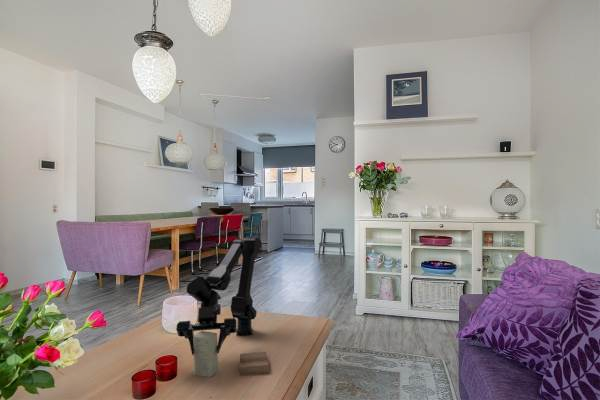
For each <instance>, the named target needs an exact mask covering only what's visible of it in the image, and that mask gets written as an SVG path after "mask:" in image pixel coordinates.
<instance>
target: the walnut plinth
mask: <svg viewBox="0 0 600 400" xmlns="http://www.w3.org/2000/svg"><path fill="white" fill-rule="evenodd" d="M269 367H270V365H269V358H268V353H267V351H260V352H250V353H239V376H247V375H248V376H250V375H259V374H260V375H261V374H268V373H269Z"/></svg>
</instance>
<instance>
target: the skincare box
mask: <svg viewBox="0 0 600 400" xmlns="http://www.w3.org/2000/svg"><path fill="white" fill-rule="evenodd" d="M217 346H218V332H213V331H206V330H200V332H199V331H198V333H196V334H194V355H193V363H194V365H193V367H194V369H193V370H194V375H197V376H200V377H201V376H202V377H206V378H212V377H213V376H214V375H216V373H217V372H218V371H219V359H218V358H219V353H217Z"/></svg>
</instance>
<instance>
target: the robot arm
mask: <svg viewBox="0 0 600 400" xmlns="http://www.w3.org/2000/svg"><path fill="white" fill-rule="evenodd" d="M261 247H262V241H261V240H260V238H259V237H255V236H254V237H251V236H250V237H249V236H245V237H244V236H243V238H242V239H234V240H232V243H231V246H230V248H229V249H228V251H227V253H226V254H225V256H224V258H223V259H222V261H221V263H220V264H219V266H217V267H216V268H214V269H212V271H210V273H209V274H208V276H207V277H204V276H201V275H200V276H199V275H197V276H196V278H195V279H193V280H191V281H190V282H189V283H188V284H187V286H186V293H187V294H188V295H189V296H191V297H192V298H193V299H194V300H196V301H197V302H200V307H198V311H197V313H198V314H197V322H198V324H197V323H195V324H192V323H191V320H182V321H181V320H180V321H179V322H177V324H176V328H175V330H176V333H177V335H178V337H180V338H181V337H184V339H188V342H189V346H190V351H191V355H192V356H194V335H195V334H194V332H199V331H210V330H213V331H214V330H219V337H218V340H217V353H218V354H219V353H220V351H221V349H222V345H223V343H224V341H225V340H226V339H227V337H228V336H230V335H231V334H233V333H234V334H236V336H248V335H249V336H250V335H253V332H254V331H253V327H252V320H256V317H257V313H258V312H257V310H256V309H255V307H254V306H253V303H254V301H253V298H252V295H251V289H252V288H251V287H252V280H253V273H254V267H255V259H256V258H257V256H258V255H260V252H261V251H260V250H261ZM241 256H242V261H241V262H242V263H241V270H240V276H239V283H238V289H237V292H236V294H235V296H232V298H231V302H230V312H231V316H232V317H229V318H226V317H225V318H224V319H223V322H218V316H219V315H221V304H220V303H219V300H221V299H222V298H221V295H220V294H219V293H218V291H221V292H222V291H223V292H224V291H226V290H227V288H228V287H229V285H230V282H231V279H232V276H231V275H232V274H231V273H232V271H233V269H234V267H235V266H236V264H237V263H238V261H239V259H240V257H241Z"/></svg>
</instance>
